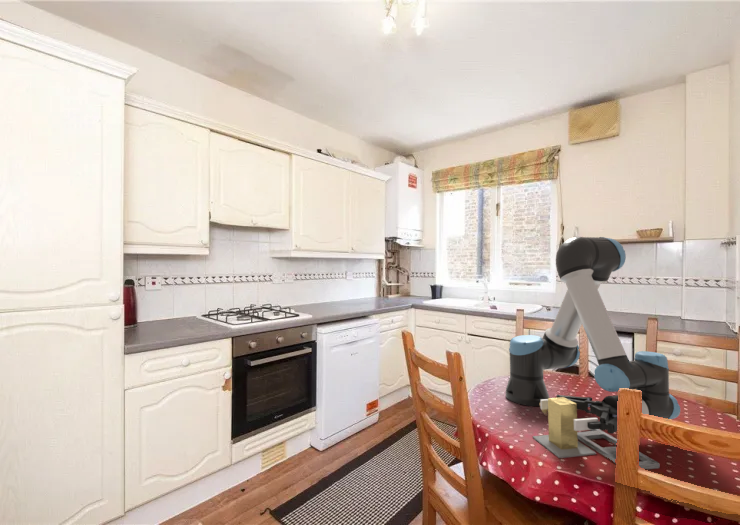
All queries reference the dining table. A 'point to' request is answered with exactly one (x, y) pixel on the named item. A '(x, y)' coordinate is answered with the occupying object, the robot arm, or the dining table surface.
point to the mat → (564, 453)
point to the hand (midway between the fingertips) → (556, 414)
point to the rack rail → (611, 451)
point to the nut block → (562, 423)
